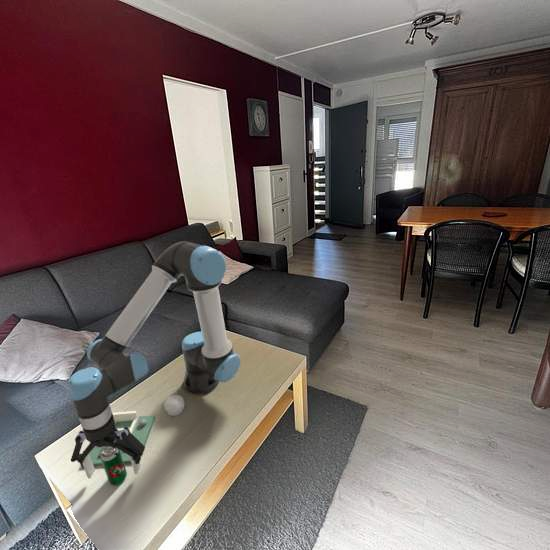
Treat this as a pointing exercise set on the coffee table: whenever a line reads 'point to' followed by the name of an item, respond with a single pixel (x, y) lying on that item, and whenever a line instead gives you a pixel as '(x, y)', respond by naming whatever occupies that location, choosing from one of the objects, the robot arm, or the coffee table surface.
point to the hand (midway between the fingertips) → (114, 471)
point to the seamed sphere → (174, 405)
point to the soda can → (113, 465)
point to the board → (136, 426)
